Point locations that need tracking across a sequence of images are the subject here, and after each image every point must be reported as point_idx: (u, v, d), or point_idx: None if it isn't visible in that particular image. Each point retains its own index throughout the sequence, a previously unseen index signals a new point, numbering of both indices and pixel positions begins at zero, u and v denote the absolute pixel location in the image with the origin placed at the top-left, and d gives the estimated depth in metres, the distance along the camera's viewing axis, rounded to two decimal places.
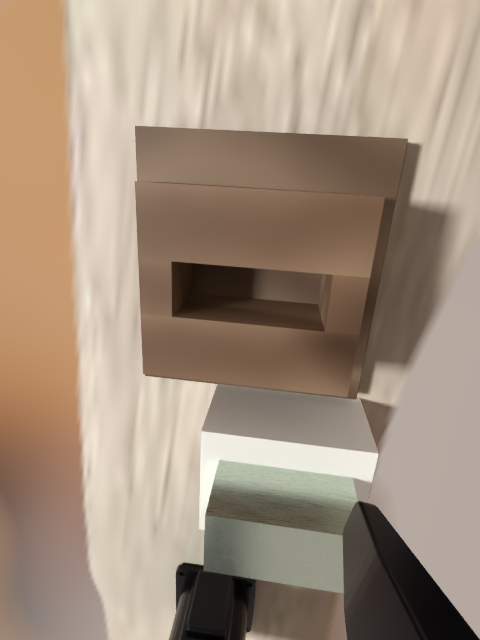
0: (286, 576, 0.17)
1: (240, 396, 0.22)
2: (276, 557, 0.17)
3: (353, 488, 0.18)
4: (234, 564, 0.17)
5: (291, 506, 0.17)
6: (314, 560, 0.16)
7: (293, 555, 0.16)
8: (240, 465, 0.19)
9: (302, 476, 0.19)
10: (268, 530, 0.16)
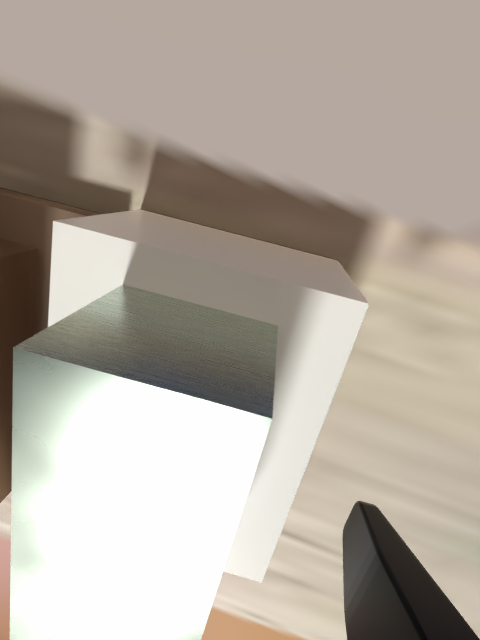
0: (190, 564, 0.06)
1: None
2: (119, 568, 0.06)
3: None
4: None
5: None
6: (119, 489, 0.06)
7: (107, 532, 0.06)
8: None
9: None
10: (30, 562, 0.06)
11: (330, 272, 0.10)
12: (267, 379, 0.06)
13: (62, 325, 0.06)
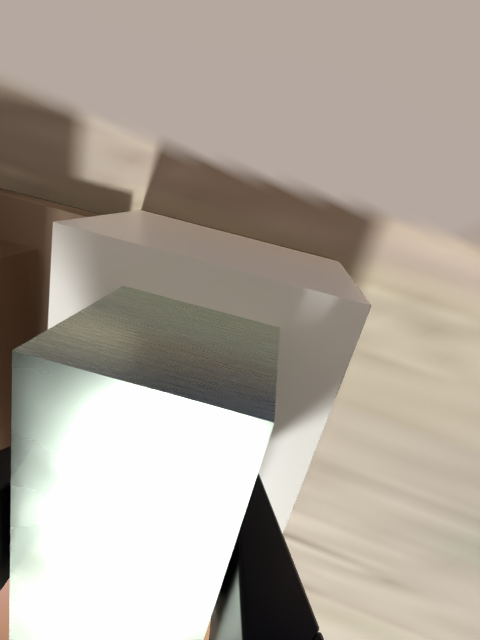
0: (191, 569, 0.06)
1: None
2: (119, 572, 0.06)
3: None
4: None
5: None
6: (119, 494, 0.05)
7: (107, 536, 0.06)
8: None
9: None
10: (30, 566, 0.06)
11: (332, 273, 0.10)
12: (269, 382, 0.06)
13: (61, 328, 0.06)
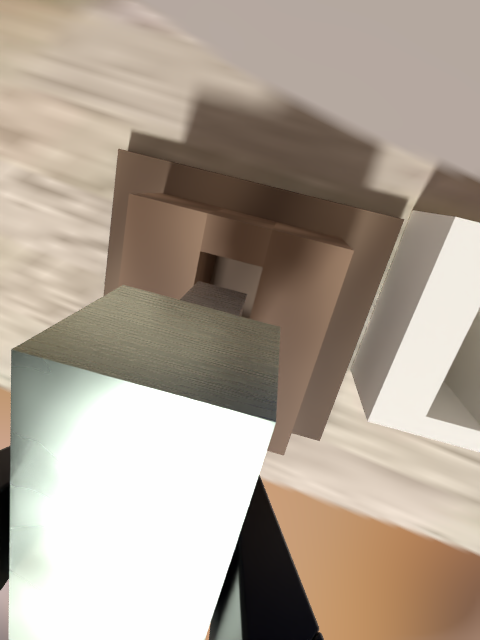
0: (192, 570, 0.06)
1: (364, 355, 0.19)
2: (119, 574, 0.06)
3: None
4: None
5: None
6: (120, 494, 0.05)
7: (107, 537, 0.06)
8: None
9: None
10: (29, 567, 0.06)
11: None
12: (270, 381, 0.06)
13: (61, 327, 0.06)
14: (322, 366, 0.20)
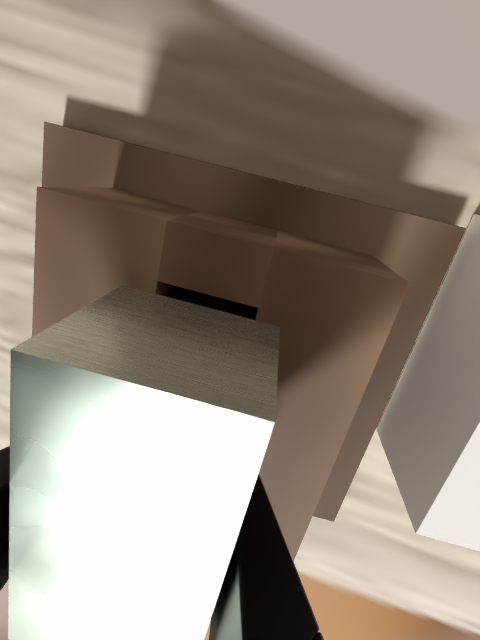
0: (191, 569, 0.06)
1: (400, 416, 0.14)
2: (118, 573, 0.06)
3: None
4: None
5: None
6: (119, 494, 0.05)
7: (106, 536, 0.06)
8: None
9: None
10: (29, 566, 0.06)
11: None
12: (269, 381, 0.06)
13: (60, 327, 0.06)
14: None
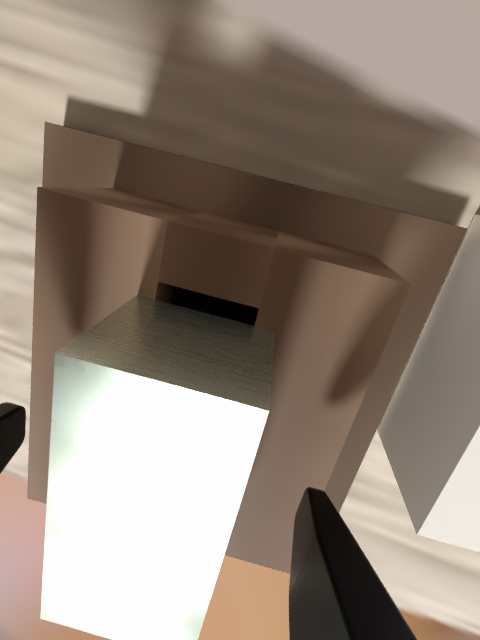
0: (200, 536, 0.07)
1: (400, 417, 0.14)
2: (138, 541, 0.07)
3: None
4: (167, 613, 0.08)
5: None
6: (140, 471, 0.07)
7: (129, 509, 0.07)
8: None
9: None
10: (62, 536, 0.07)
11: None
12: (265, 378, 0.07)
13: (91, 333, 0.07)
14: None
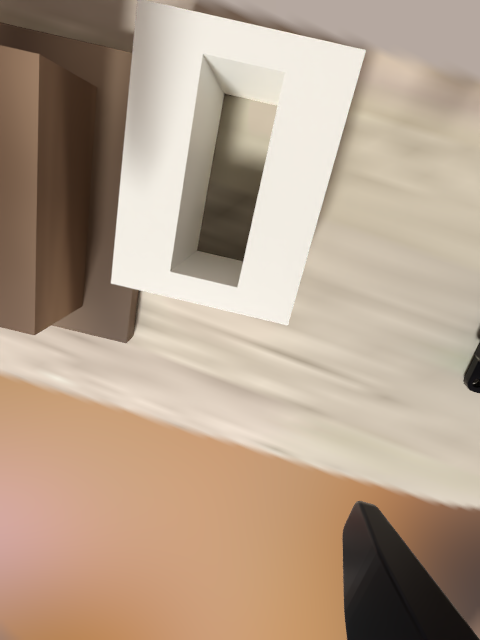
0: None
1: None
2: None
3: None
4: None
5: None
6: None
7: None
8: None
9: None
10: None
11: None
12: None
13: None
14: (110, 251, 0.18)
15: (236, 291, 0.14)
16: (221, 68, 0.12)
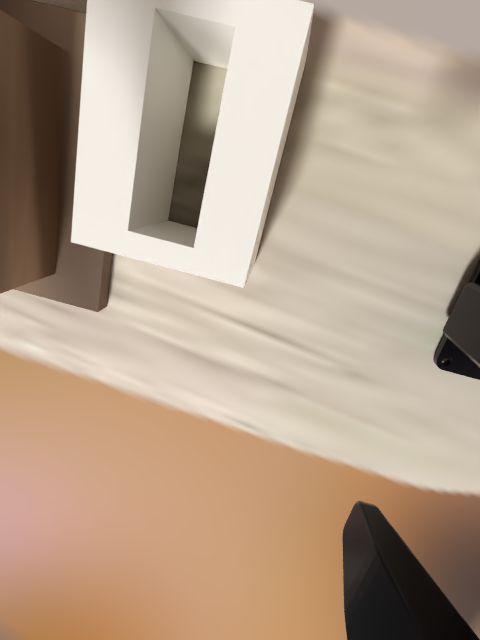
0: None
1: None
2: None
3: None
4: None
5: None
6: None
7: None
8: None
9: None
10: None
11: None
12: None
13: None
14: None
15: (193, 252, 0.14)
16: (178, 26, 0.12)
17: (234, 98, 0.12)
